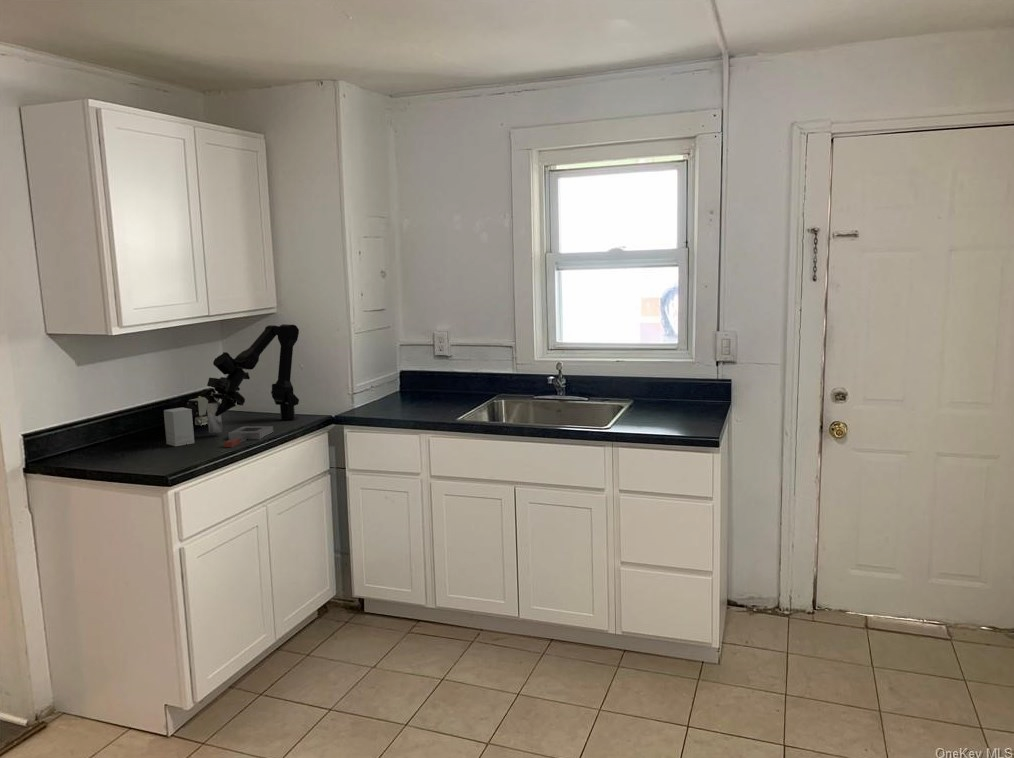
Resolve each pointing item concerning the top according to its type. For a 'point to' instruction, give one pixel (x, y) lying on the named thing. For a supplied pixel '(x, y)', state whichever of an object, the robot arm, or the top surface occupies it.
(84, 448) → the top surface
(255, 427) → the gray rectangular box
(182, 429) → the supplement box
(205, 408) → the pneumatic valve
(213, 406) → the shiny metal cylinder
